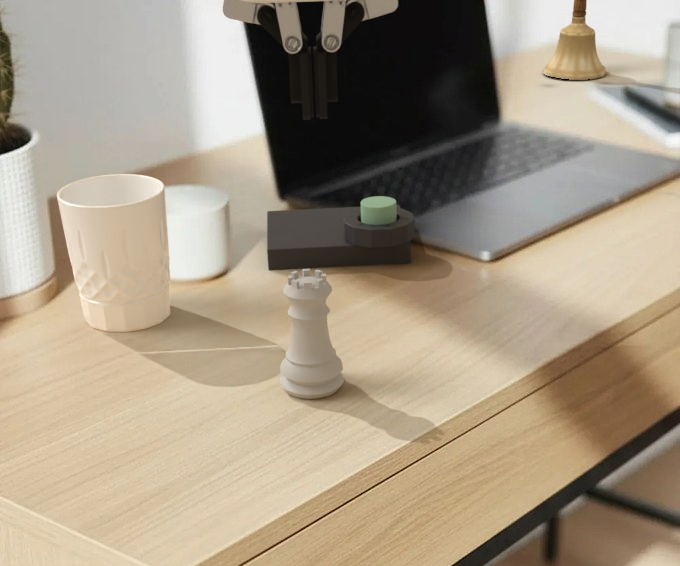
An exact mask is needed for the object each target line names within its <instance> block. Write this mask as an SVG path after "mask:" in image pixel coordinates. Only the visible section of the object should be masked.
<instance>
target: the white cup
mask: <svg viewBox="0 0 680 566" xmlns="http://www.w3.org/2000/svg"><path fill="white" fill-rule="evenodd" d="M165 186H166V185H165V183H164V182H162V181H161V180H160V179H158V178H156V177H152V176H149V175H143V174H135V173H116V174H115V173H112V174H103V175H96V176H90V177H85V178H82V179H79V180H75V181H73V182H70V183H68V184H66V185H64V186H63V187H61V188H60V189H58V191H57V193H56V199H57V204H58V210H59V214H60V217H61V218H60V219H61V224H62V228H63V233H64V238H65V244H66V249H67V252H68V253H67V254H68V257H69V261H70V265H71V269H72V274H73V278H74V283H75V285H76V288H77V290H78V292H79V293H78V296H79V300H80V305H81V310H82V316H83V320H84V322H85V323H86V324H87V325H89V326H90V327H91V328H92V329H96V330H98V331H103V332H108V333H129V332H136V331H142V330H147V329H149V328H152V327H154V326H157V325H159V324H162V323H163V322H164V321H165V320H166V319H168V317H170V316H171V296H170V295H171V294H170V281H171V271H170V248H169V247H170V245H169V234H168V233H169V232H168V216H167V215H168V214H167V204H166V203H167V201H166V187H165Z"/></svg>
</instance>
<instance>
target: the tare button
mask: <svg viewBox="0 0 680 566" xmlns="http://www.w3.org/2000/svg"><path fill="white" fill-rule="evenodd" d="M396 205H397V200H396V198H393V197H391V196H385V195H377V196H376V195H375V196H369V197H365V198H363V199H361V201H360V207H361V222H362V223H364V224H371V225H386V224H390V223H394V222H396V221H397V206H396Z"/></svg>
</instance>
